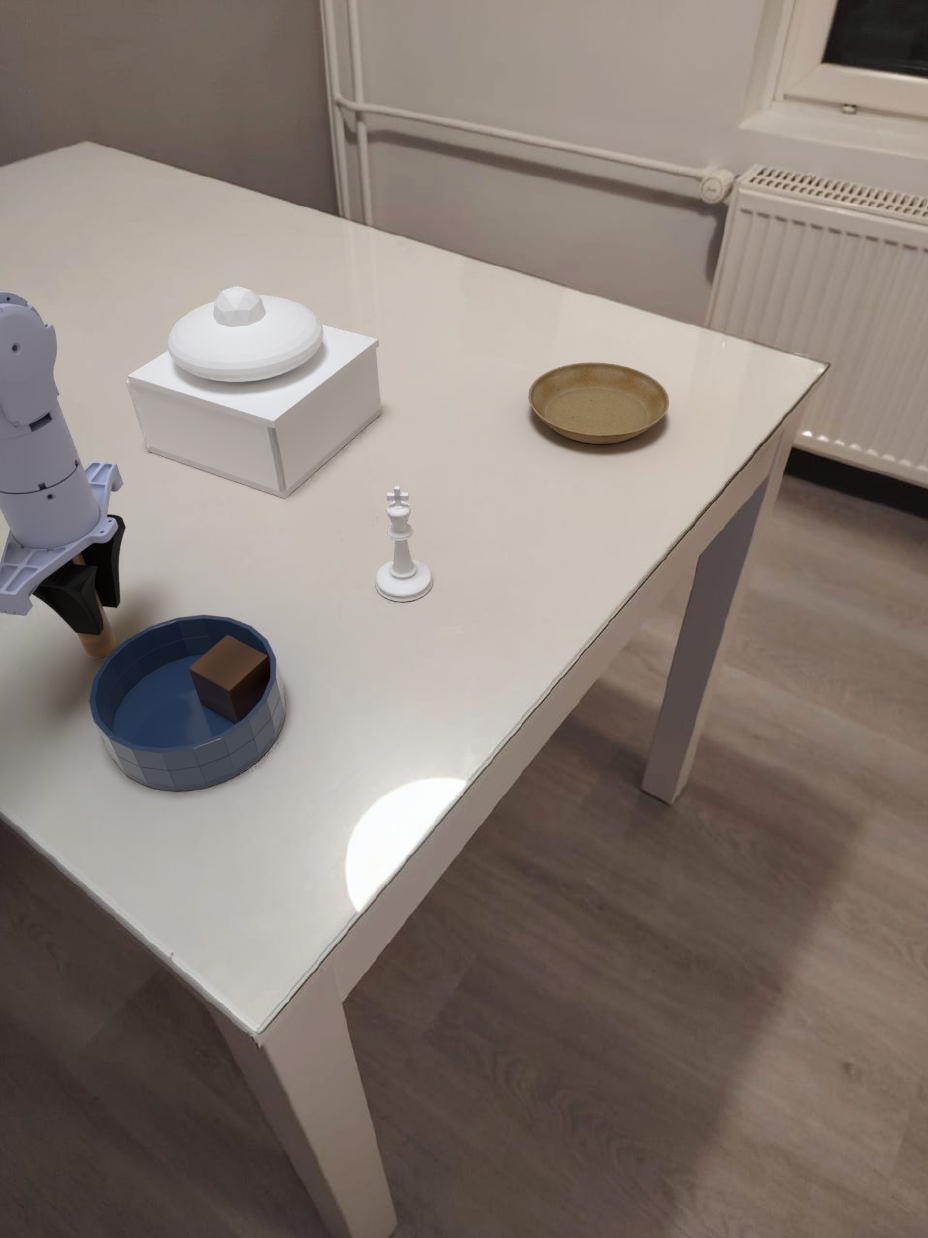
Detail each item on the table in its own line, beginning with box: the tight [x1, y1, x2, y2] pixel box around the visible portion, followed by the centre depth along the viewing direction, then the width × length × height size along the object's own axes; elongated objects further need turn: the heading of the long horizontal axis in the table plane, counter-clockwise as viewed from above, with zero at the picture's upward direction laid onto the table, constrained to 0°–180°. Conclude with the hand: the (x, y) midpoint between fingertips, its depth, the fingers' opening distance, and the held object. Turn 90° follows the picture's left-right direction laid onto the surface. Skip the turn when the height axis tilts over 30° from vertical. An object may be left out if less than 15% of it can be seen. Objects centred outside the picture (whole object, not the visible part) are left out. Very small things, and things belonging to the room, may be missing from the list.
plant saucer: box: [527, 362, 670, 445], centre depth 92 cm, size 15×15×3 cm
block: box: [189, 635, 270, 724], centre depth 63 cm, size 4×4×4 cm
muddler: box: [72, 552, 118, 658], centre depth 64 cm, size 2×2×11 cm
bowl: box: [88, 614, 286, 792], centre depth 63 cm, size 13×13×4 cm
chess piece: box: [374, 485, 434, 603], centre depth 71 cm, size 5×5×10 cm
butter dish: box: [125, 285, 382, 500], centre depth 86 cm, size 18×18×16 cm
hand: (97, 617), depth 66 cm, fingers closed on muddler, 2 cm apart
